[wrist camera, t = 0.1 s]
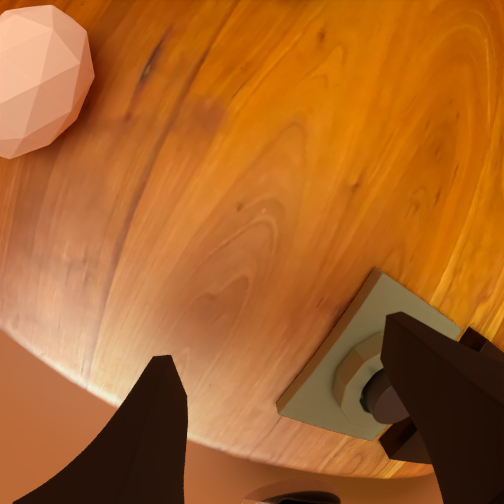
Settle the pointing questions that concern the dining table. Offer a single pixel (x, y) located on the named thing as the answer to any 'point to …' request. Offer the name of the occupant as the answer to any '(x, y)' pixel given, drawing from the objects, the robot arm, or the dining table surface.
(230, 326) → the dining table surface
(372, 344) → the doorbell
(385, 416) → the bell button
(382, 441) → the lock plate
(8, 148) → the geometric ball
